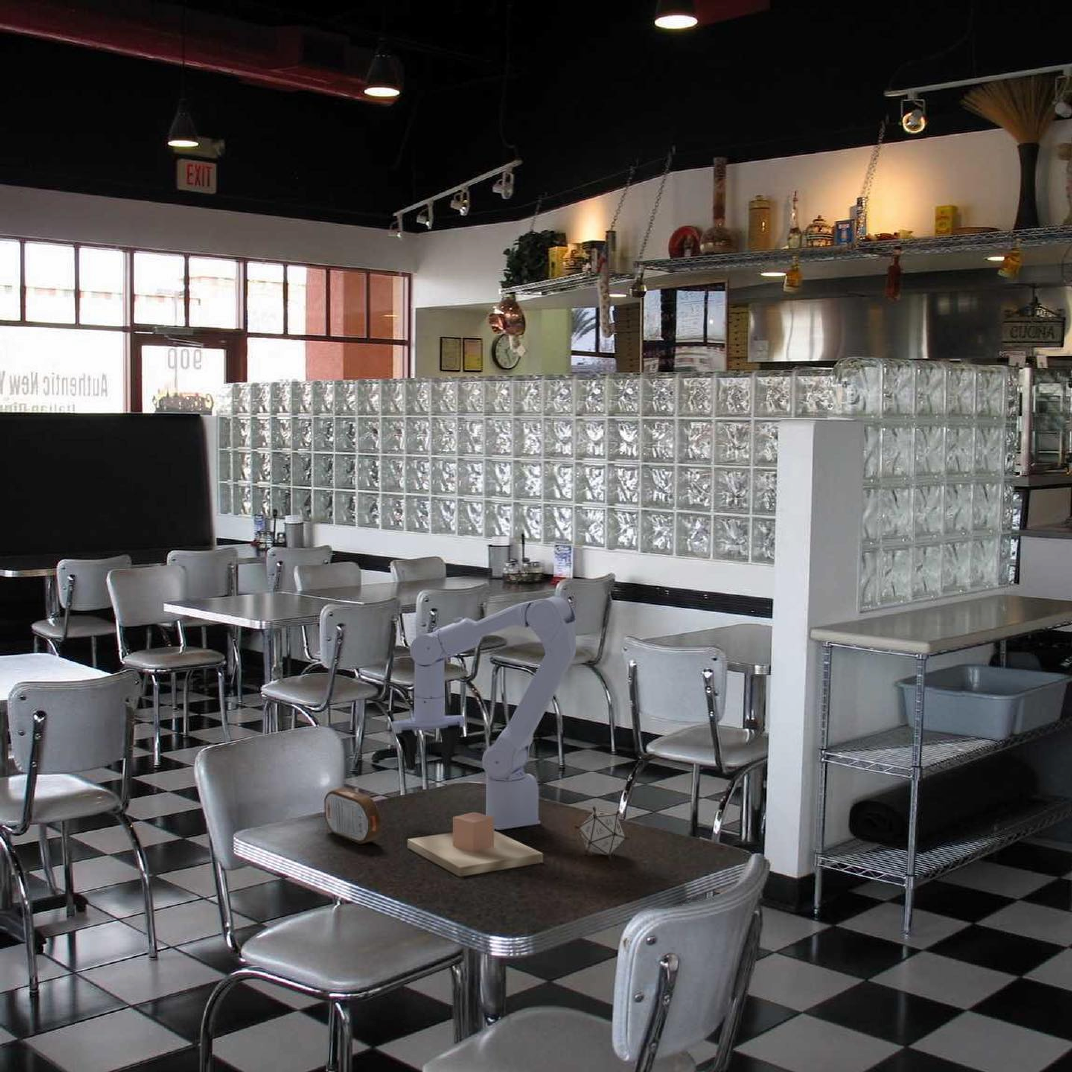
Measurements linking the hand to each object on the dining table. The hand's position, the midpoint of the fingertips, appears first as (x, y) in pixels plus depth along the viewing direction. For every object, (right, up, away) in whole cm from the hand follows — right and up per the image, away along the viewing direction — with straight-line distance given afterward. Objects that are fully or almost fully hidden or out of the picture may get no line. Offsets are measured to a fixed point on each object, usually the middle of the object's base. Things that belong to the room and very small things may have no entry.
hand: (428, 767), depth 250 cm
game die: (+32, -11, -24) cm, 42 cm away
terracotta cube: (+10, -9, -25) cm, 28 cm away
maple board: (+10, -11, -25) cm, 29 cm away
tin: (-13, -10, -15) cm, 22 cm away
